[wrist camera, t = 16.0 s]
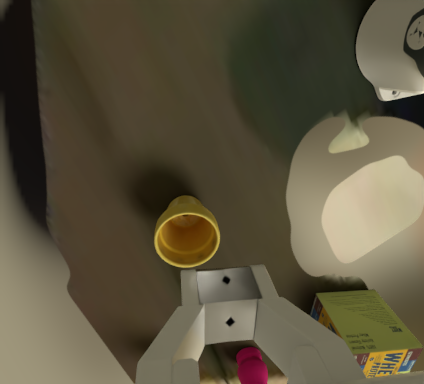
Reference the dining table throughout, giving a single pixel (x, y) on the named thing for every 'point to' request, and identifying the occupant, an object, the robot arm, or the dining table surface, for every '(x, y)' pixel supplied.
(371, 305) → the protein box
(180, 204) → the plant pot
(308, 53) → the dining table surface
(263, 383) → the pepper mill
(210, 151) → the dining table surface
